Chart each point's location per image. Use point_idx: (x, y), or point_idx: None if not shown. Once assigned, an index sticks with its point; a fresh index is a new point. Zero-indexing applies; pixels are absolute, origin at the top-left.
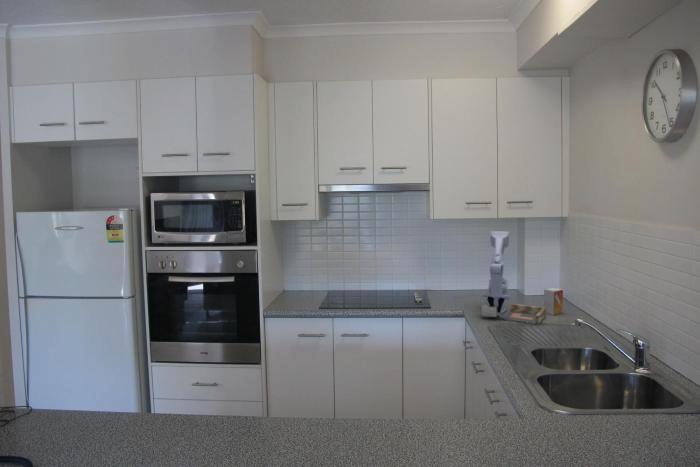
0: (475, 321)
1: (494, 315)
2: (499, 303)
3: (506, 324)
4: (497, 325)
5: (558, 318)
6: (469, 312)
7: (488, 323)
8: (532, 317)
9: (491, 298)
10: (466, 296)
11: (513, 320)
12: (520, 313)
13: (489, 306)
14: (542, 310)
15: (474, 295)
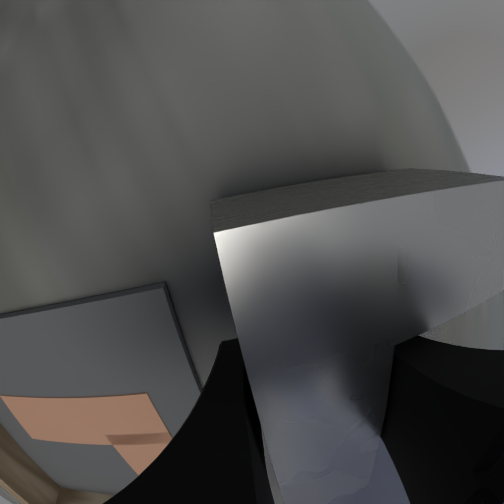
0: (379, 33)
1: (239, 198)
2: (205, 463)
3: (45, 138)
4: (110, 30)
5: None
6: None
7: (231, 26)
8: (47, 448)
9: (498, 471)
10: None
11: (50, 309)
12: None
13: (423, 234)
14: (3, 486)
15: None
